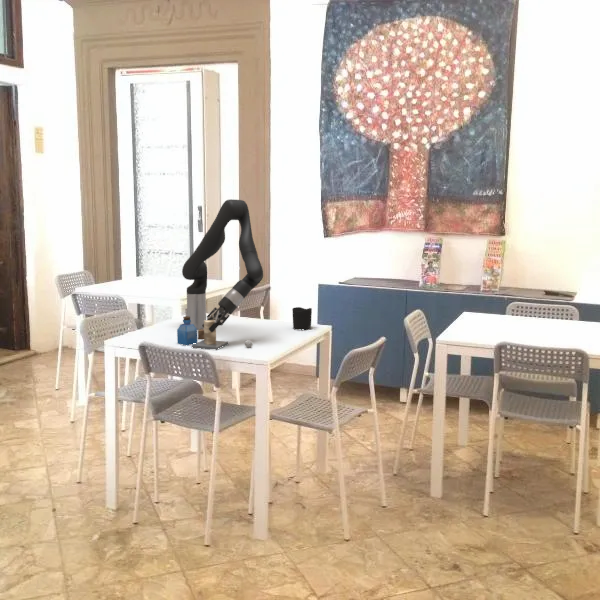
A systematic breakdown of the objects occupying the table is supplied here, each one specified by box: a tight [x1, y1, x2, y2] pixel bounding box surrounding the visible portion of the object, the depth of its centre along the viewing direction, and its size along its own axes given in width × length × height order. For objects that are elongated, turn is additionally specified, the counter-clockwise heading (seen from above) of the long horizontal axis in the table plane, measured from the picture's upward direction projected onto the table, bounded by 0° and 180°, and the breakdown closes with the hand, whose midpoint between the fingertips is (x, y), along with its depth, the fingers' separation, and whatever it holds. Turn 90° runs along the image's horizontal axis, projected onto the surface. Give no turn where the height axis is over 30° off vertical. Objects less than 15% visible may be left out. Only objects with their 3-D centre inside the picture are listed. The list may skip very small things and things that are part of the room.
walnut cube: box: [197, 328, 204, 340], centre depth 337 cm, size 4×4×4 cm
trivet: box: [190, 339, 229, 350], centre depth 321 cm, size 12×12×1 cm
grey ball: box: [244, 339, 253, 348], centre depth 318 cm, size 3×3×3 cm
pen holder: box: [291, 306, 313, 330], centre depth 359 cm, size 9×9×10 cm
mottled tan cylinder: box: [203, 319, 217, 345], centre depth 320 cm, size 4×4×10 cm
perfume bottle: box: [176, 315, 198, 346], centre depth 326 cm, size 6×6×12 cm
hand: (206, 329), depth 319 cm, fingers open, 8 cm apart
